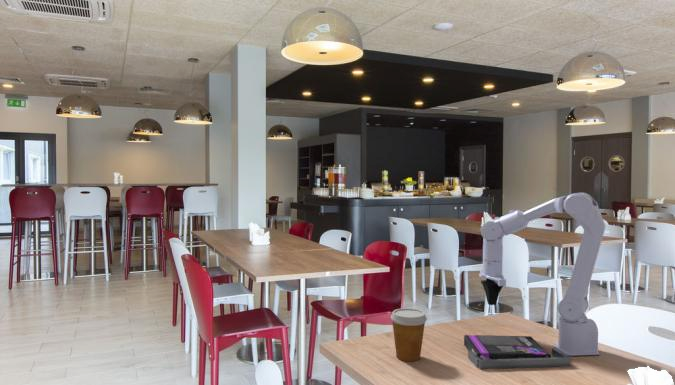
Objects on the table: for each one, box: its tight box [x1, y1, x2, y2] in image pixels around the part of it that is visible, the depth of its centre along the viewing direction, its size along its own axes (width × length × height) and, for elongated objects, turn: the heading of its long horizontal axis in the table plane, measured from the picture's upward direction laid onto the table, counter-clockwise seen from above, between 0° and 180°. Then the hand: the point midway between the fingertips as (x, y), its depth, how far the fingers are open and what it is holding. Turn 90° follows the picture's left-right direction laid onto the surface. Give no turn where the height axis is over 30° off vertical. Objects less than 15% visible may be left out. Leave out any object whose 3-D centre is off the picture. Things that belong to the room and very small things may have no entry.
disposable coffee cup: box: [390, 307, 428, 362], centre depth 128 cm, size 10×10×12 cm
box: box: [463, 334, 553, 360], centre depth 131 cm, size 14×4×20 cm
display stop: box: [467, 347, 572, 370], centre depth 125 cm, size 24×8×2 cm, turn 95°
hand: (491, 304), depth 146 cm, fingers closed
